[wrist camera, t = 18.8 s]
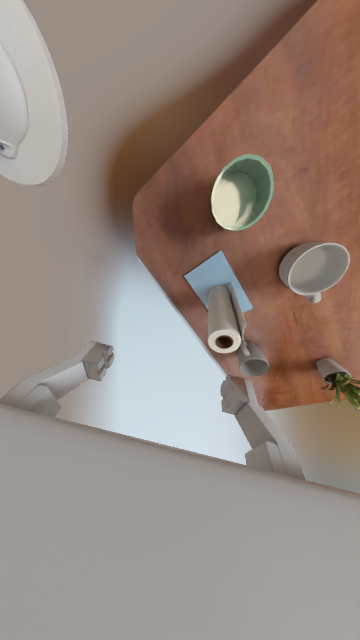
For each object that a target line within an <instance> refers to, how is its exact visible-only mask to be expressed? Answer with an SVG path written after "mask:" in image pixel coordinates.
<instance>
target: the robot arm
mask: <svg viewBox="0 0 360 640" xmlns="http://www.w3.org/2000/svg"><path fill="white" fill-rule="evenodd" d="M27 126H28V112H27V105H26V100H25V95H24V92H23V88H22V85H21V82H20V80H19V77H18V75H17V72H16V70H15V68H14V66H13V64H12V62H11V60H10V58H9V56H8V54H7V53H6V51H5V49H4V48H3V46H2V45H1V43H0V153H1V154H3V155H5V156H7V157H10V158H12V159H16V157H17V153H18V146H19V144H20V142H21V141H22V140H23V139H24V137H25V135H26V132H27ZM112 351H113V346H109V345H105V344H101V343H98V342H94V341H90V342H88V343H87V344H86V345H85V346H84V347H83V348H82V349H81V350H80V351H79V352H78V353H77V354H76V355H75V356H74V358H73V359H68V360H65V361H63V362H61V363H58V364H56V365H54V366H52V367H49V368H47V369H45V370H43V371H40V372H38V373H36V374H33V375H31V376H29V377H27V378H24V379H23V380H22V381H20V382H19V383H18V384H17V385H16V386H15V387H14V388H12V389H11V390H10V391H9V392H8V393H7V394H6V395H4V396H3V397H2V398H1V399H0V640H360V494H358V493H354V492H350V491H346V490H342V489H338V488H334V487H330V486H326V485H322V484H318V483H314V482H310V481H306V480H305V477H304V475H303V472H302V469H301V466H300V464H299V461H298V458H297V456H296V453H295V451H294V448H293V446H292V445H291V444H290V442H289V441H288V440H287V439H286V437H285V436H284V435H283V434H282V432H281V431H280V430H279V429H278V427H277V426H276V425H275V423H274V422H273V421H272V420H271V418H270V417H269V416H268V415H267V413H266V412H265V411H264V409H263V408H262V407H261V406H260V405H258V402H257V399H256V395H255V392H254V388H253V385H252V382H251V380H248V379H244V378H240V377H236V376H232V375H227V376H226V380H225V381H223V383H222V385H221V396H222V397H223V400H222V411H223V412H226V413H229V414H233V415H235V417H236V419H237V421H238V423H239V425H240V426H241V428H242V430H243V432H244V434H245V436H246V437H247V440H248V441H249V443H250V445H251V447H252V450H250V451H248V452H247V453H246V454H245V457H246V464H247V465H243V464H238V463H234V462H230V461H227V460H223V459H219V458H214V457H211V456H207V455H203V454H198V453H195V452H191V451H187V450H183V449H179V448H175V447H171V446H167V445H163V444H159V443H155V442H151V441H147V440H143V439H139V438H135V437H131V436H127V435H123V434H119V433H115V432H111V431H107V430H103V429H99V428H95V427H91V426H87V425H83V424H79V423H75V422H71V421H67V420H63V419H59V418H55V416H56V414H57V413H58V412H59V410H60V409H61V406H60V404H59V403H58V401H57V400H58V399H60V398H61V397H63V396H64V395H66V394H67V393H68V392H70V391H71V390H73V389H74V388H76V387H77V386H79V385H80V384H82V383H83V382H85V381H86V380H88V379H93V380H97V381H101V380H102V378H103V377H104V376H105V374H106V369H107V368H109V367H110V366H111V364H112V362H113V359H114V354H113V352H112Z"/></svg>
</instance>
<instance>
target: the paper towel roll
mask: <svg viewBox="0 0 360 640" xmlns="http://www.w3.org/2000/svg"><path fill="white" fill-rule="evenodd" d="M246 326H247V325H246V322H245V319H244V316H243V313H242V310H241V307H240V305H239V302H238V299H237V296H236V293H235V290H234V287H233V285H232V282H231V283H230V293H229V291H228V289H227V288H226V287H224V286H221V285H220V286H215V287H213V288H212V289H211V290H210V291H209V294H208V344H209V346H210V348H211V349H213V350H214V351H216V352H219V353H230V352H233V351H235V350H237V349H238V348H239V346H240V345H241V343H242V341H243V332H244V329H245V327H246Z"/></svg>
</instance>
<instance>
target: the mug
mask: <svg viewBox="0 0 360 640" xmlns="http://www.w3.org/2000/svg"><path fill="white" fill-rule="evenodd" d="M238 364H239V369H240V371H241V372H242V373H243V374H245V375H247V376H260V375H263V374H265V373H266V372H267V371H268V370H269V363H268V361H267V359H266V357H265V355H264V353H263V352H262V350H261V349H260V348H259V347H258V346H256V345H255V344H254V343H253V342H249V341H248V342H245V340H243V341H242V343H241V345H240V349H239V353H238Z"/></svg>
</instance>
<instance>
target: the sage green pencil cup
mask: <svg viewBox="0 0 360 640" xmlns="http://www.w3.org/2000/svg"><path fill="white" fill-rule="evenodd" d="M273 187H274V178H273V174H272V170H271V167H270V165H269V164H268V163H267V162H266V161H265V160H264V159H263V158H262V157H261V156H257V155H252V154H246V155H243V156H240V157H236V158H234V159H233V160H232V161H231V162H230V163H228V164H227V165H226V166H225V167H224V168H223V169H222V171H221V172H220V174H219V176H218V177H217V179H216V181H215V183H214V186H213V190H212V195H211V213H212V215H213V218H214V220H215V222H217V223H218V224H219V225H220V226H221V227H223V228H224V229H227V230H231V231H239V230H244V229H247V228H248V227H250V226H251V225H253V224H254V223H256V222H257V221H258V220H259V219H260V218H261V216H262V215H263V214H264V213H265V212H266V210H267V208H268V206H269V203H270V201H271V199H272V196H273Z"/></svg>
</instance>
